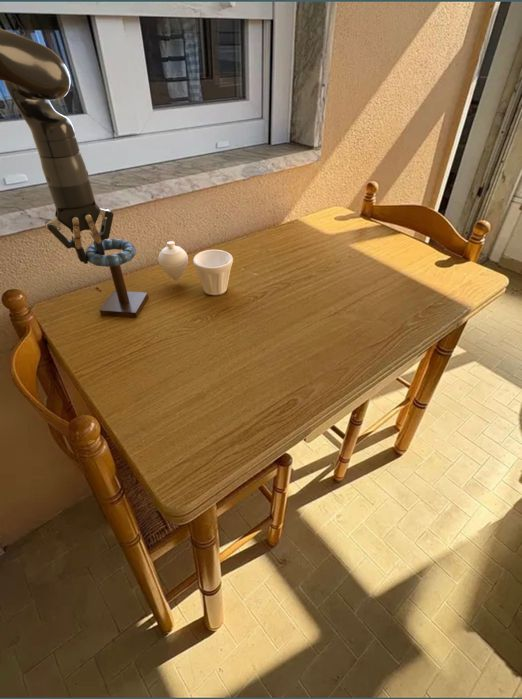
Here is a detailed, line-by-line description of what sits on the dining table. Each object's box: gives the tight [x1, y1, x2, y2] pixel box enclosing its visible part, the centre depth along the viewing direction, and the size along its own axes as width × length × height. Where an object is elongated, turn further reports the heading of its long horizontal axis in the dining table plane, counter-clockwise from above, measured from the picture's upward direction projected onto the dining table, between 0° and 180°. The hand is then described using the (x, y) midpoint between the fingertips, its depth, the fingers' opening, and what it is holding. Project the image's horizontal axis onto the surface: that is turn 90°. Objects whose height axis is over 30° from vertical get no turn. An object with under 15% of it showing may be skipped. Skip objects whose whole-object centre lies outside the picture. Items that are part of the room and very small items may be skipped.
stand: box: [98, 265, 149, 319], centre depth 91 cm, size 9×9×14 cm
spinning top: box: [157, 240, 189, 285], centre depth 100 cm, size 8×8×12 cm
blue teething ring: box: [84, 238, 137, 268], centre depth 86 cm, size 11×11×2 cm
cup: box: [192, 249, 234, 297], centre depth 99 cm, size 10×10×9 cm
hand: (92, 259), depth 84 cm, fingers closed on blue teething ring, 2 cm apart
